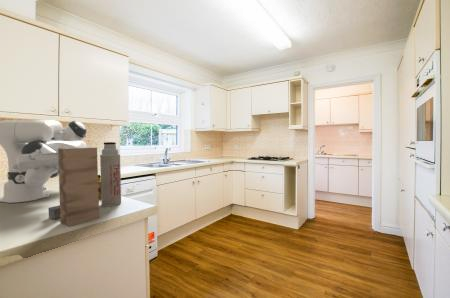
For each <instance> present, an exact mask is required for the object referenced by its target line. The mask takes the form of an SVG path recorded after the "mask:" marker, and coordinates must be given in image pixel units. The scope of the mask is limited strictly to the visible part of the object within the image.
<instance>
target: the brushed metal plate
mask: <svg viewBox="0 0 450 298" xmlns="http://www.w3.org/2000/svg"><path fill="white" fill-rule="evenodd" d="M47 209H48V219H49V220H52V221H55V222H56V221H58V220H60V204H59V205H55V206H52V207H51V206H50V207H48V208H47Z"/></svg>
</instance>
